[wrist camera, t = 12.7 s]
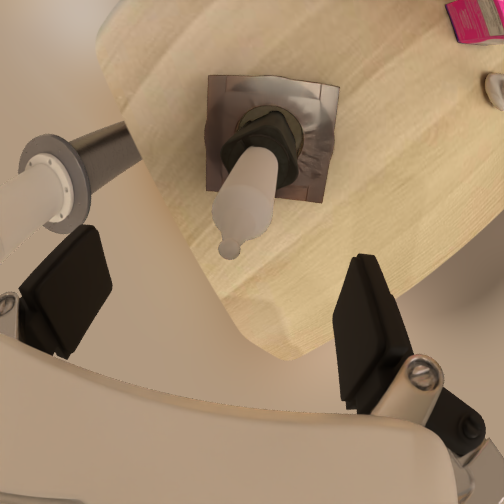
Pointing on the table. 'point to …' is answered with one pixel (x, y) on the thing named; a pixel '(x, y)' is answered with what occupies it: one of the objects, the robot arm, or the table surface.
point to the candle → (253, 180)
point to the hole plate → (284, 96)
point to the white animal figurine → (495, 89)
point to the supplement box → (477, 21)
